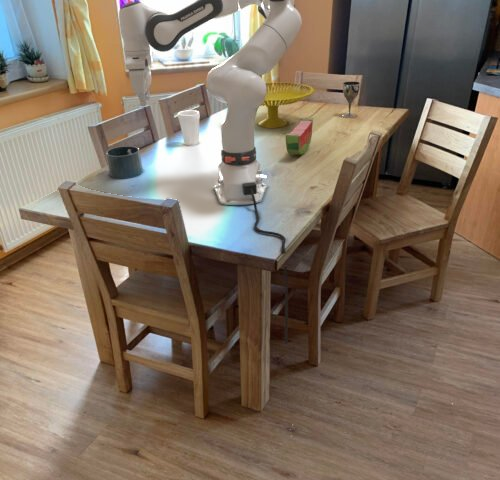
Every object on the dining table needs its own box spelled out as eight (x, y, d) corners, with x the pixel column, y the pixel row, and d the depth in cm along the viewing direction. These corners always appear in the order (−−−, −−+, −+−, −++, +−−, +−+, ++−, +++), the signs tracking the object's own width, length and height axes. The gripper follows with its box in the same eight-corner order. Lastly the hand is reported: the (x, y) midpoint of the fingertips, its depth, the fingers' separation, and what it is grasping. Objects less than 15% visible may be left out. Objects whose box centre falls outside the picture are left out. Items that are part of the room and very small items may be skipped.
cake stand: (310, 136, 234) (311, 100, 225) (224, 135, 241) (221, 100, 232) (317, 113, 266) (318, 81, 257) (240, 113, 273) (239, 82, 264)
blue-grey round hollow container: (140, 177, 198) (136, 155, 193) (106, 179, 198) (102, 157, 193) (145, 166, 208) (141, 145, 203) (113, 168, 208) (109, 146, 203)
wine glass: (338, 115, 262) (340, 82, 253) (351, 112, 264) (353, 80, 255) (346, 118, 256) (349, 85, 247) (360, 116, 258) (363, 83, 250)
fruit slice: (299, 141, 228) (300, 117, 222) (313, 142, 226) (314, 118, 220) (284, 160, 208) (284, 135, 202) (299, 161, 206) (300, 135, 200)
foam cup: (177, 145, 231) (173, 114, 223) (188, 139, 237) (185, 109, 229) (194, 147, 227) (191, 116, 219) (205, 141, 233) (203, 111, 226)
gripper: (134, 54, 182) (141, 96, 191) (124, 65, 166) (132, 110, 174) (152, 53, 182) (158, 95, 191) (144, 63, 166) (150, 109, 174)
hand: (145, 102), depth 182 cm, fingers open, 8 cm apart
